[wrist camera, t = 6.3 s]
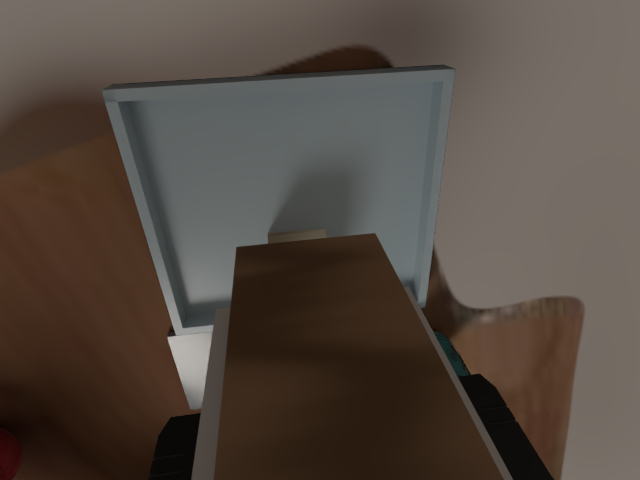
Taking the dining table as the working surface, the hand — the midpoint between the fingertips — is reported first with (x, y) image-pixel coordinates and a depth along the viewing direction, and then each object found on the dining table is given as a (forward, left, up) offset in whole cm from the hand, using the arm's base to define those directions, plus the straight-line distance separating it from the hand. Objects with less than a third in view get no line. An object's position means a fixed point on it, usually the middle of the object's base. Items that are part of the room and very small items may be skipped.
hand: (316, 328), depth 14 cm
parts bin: (0, -4, -17) cm, 18 cm away
